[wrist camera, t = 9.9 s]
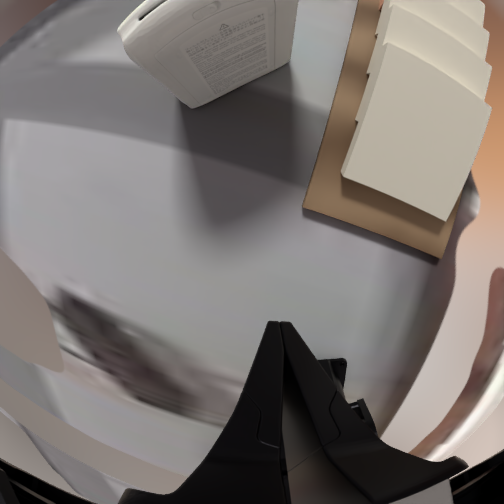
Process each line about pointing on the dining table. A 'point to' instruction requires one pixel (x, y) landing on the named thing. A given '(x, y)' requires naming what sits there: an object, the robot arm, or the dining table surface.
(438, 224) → the walnut board
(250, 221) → the dining table surface
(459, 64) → the domino
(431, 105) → the domino
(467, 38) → the domino
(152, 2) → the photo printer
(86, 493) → the dining table surface
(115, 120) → the dining table surface
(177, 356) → the dining table surface
